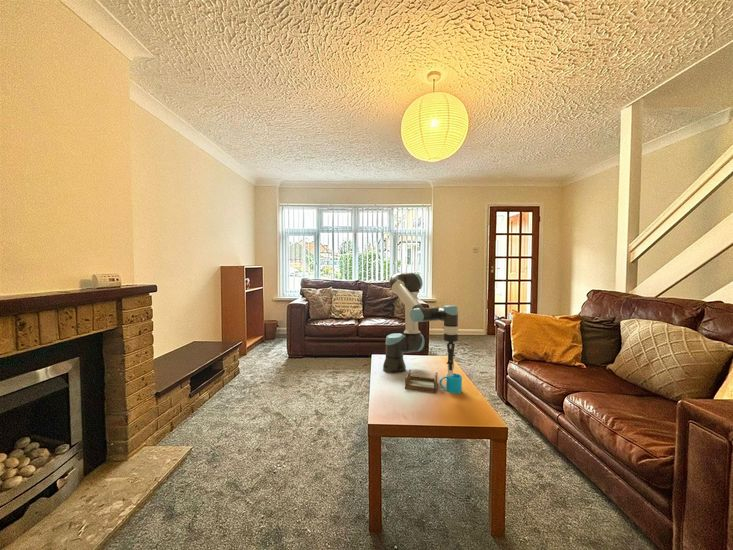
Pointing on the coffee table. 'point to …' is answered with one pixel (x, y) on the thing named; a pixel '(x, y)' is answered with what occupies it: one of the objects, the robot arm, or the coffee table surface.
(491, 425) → the coffee table surface
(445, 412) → the coffee table surface
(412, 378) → the tray
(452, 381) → the mug
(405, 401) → the coffee table surface
